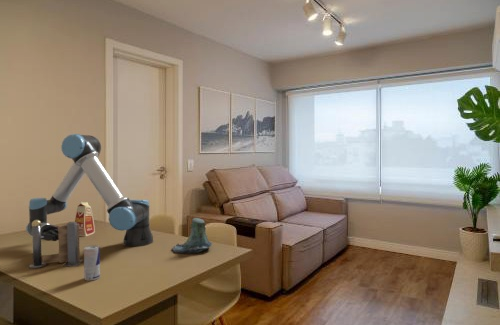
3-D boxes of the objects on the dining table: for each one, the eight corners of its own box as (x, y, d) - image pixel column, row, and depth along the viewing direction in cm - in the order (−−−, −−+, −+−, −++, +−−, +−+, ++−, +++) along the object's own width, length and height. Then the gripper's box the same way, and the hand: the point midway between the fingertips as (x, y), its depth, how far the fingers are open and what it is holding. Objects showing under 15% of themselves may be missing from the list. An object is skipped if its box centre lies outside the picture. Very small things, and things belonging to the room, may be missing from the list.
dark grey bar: (62, 266, 141) (61, 224, 140) (68, 262, 147) (67, 221, 146) (78, 265, 142) (77, 223, 141) (82, 261, 148) (81, 221, 147)
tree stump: (189, 242, 179) (196, 211, 177) (217, 257, 168) (225, 224, 166) (163, 249, 163) (170, 214, 161) (192, 266, 153) (200, 229, 150)
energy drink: (102, 275, 130) (101, 245, 130) (96, 280, 125) (95, 249, 124) (88, 275, 130) (87, 245, 129) (81, 281, 124) (81, 249, 124)
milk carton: (86, 236, 193) (85, 202, 192) (72, 235, 195) (71, 201, 194) (96, 232, 202) (95, 199, 201) (82, 232, 204) (82, 199, 203)
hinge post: (49, 263, 145) (47, 218, 144) (39, 268, 139) (38, 221, 138) (35, 263, 145) (34, 218, 144) (25, 268, 139) (24, 221, 138)
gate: (43, 265, 142) (42, 228, 141) (43, 263, 144) (42, 227, 143) (79, 259, 149) (78, 224, 148) (79, 258, 151) (78, 223, 150)
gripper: (61, 236, 168) (85, 244, 155) (32, 242, 158) (55, 251, 144) (60, 222, 168) (85, 228, 154) (31, 226, 157) (55, 234, 144)
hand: (70, 239), depth 149 cm, fingers closed
